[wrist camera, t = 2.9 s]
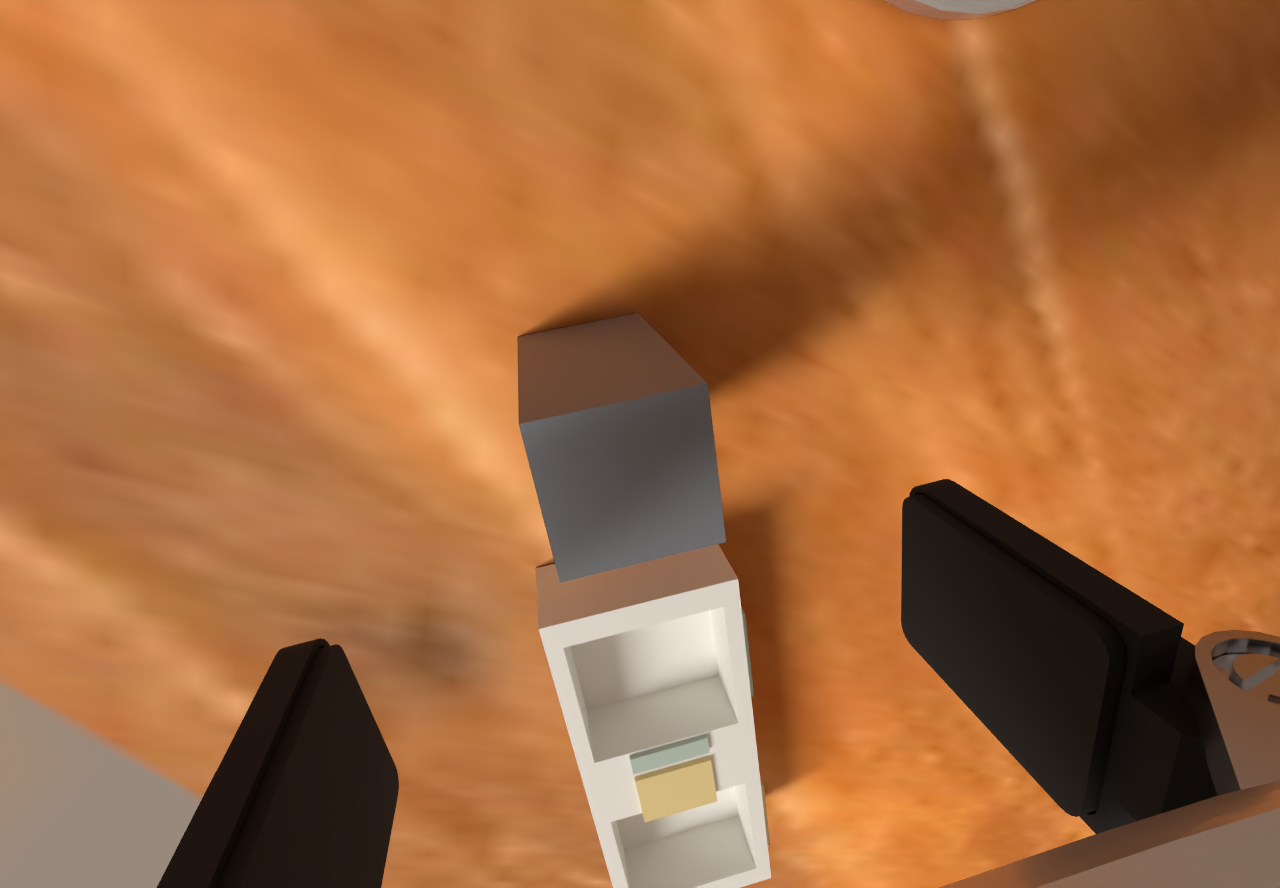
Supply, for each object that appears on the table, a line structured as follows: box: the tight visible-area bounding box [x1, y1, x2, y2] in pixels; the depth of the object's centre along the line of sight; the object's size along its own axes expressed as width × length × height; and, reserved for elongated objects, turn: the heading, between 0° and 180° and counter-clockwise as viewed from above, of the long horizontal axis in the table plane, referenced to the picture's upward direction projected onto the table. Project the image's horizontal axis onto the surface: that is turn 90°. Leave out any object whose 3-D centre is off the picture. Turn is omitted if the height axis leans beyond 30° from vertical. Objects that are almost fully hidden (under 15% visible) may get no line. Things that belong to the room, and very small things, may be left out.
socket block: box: [536, 544, 771, 888], centre depth 25 cm, size 7×17×4 cm, turn 9°
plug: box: [518, 313, 726, 583], centre depth 17 cm, size 4×4×8 cm
